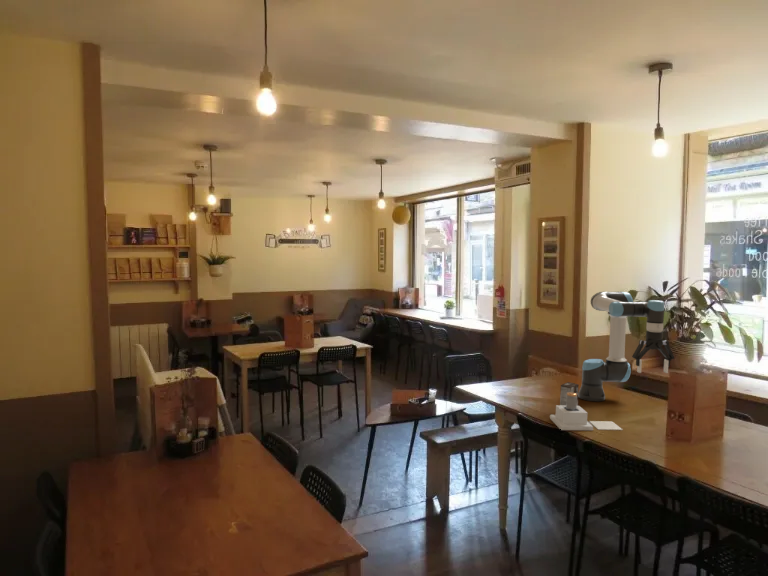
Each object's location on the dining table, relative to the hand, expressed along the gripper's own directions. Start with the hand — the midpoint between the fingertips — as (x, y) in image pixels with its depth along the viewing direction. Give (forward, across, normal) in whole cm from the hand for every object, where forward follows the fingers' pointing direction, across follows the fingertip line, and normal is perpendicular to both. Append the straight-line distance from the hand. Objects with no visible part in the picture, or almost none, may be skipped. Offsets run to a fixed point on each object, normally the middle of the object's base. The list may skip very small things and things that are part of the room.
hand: (652, 372), depth 267 cm
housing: (+28, -40, +2) cm, 49 cm away
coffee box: (+28, -34, +20) cm, 49 cm away
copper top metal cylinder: (+26, -40, +2) cm, 48 cm away
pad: (+28, -23, -1) cm, 36 cm away
